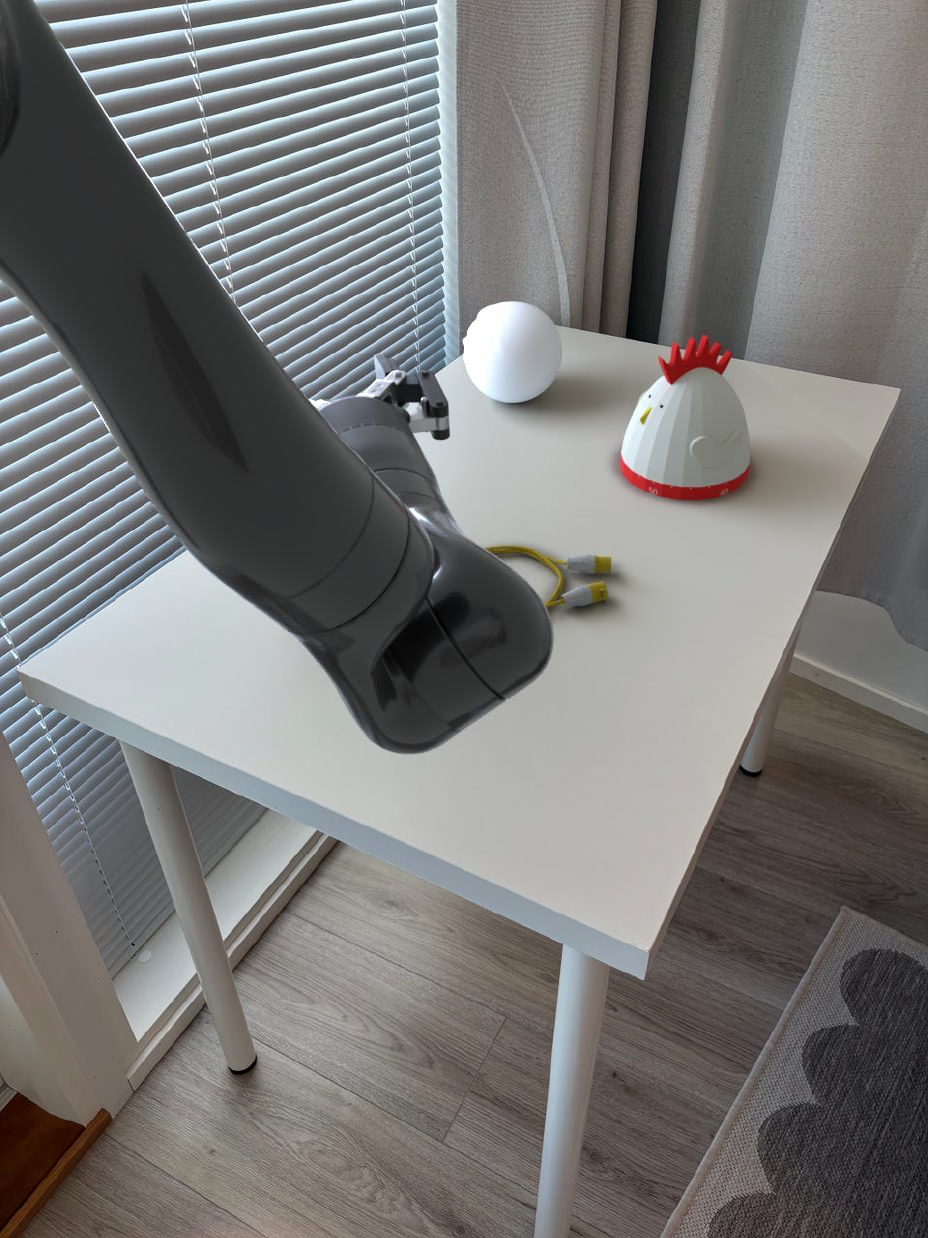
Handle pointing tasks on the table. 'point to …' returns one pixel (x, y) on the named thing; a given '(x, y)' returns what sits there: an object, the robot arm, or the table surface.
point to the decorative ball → (512, 351)
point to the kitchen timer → (688, 429)
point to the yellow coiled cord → (578, 563)
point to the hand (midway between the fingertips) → (322, 374)
